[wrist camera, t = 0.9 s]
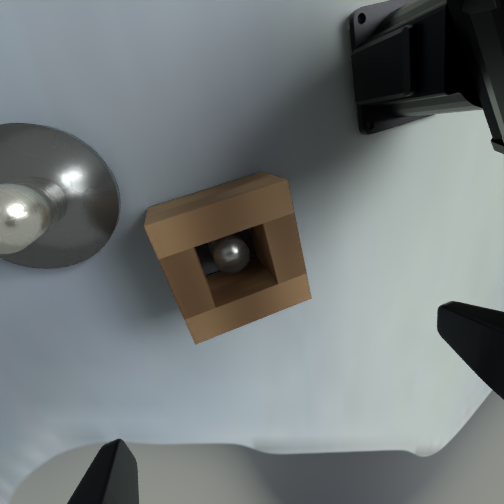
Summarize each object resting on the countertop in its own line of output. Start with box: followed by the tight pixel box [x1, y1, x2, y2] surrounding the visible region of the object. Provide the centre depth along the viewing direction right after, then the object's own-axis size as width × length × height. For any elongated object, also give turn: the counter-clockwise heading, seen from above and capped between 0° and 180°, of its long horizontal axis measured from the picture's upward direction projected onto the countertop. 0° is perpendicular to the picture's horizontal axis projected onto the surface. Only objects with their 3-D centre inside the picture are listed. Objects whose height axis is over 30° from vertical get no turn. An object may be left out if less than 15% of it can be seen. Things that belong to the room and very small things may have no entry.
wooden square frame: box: [144, 172, 311, 344], centre depth 17 cm, size 7×7×4 cm
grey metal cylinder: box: [208, 233, 250, 273], centre depth 17 cm, size 2×2×2 cm
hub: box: [0, 123, 121, 269], centre depth 13 cm, size 7×7×5 cm
